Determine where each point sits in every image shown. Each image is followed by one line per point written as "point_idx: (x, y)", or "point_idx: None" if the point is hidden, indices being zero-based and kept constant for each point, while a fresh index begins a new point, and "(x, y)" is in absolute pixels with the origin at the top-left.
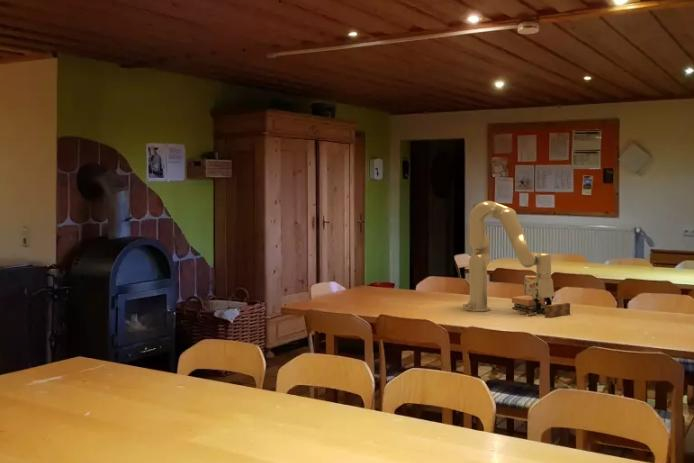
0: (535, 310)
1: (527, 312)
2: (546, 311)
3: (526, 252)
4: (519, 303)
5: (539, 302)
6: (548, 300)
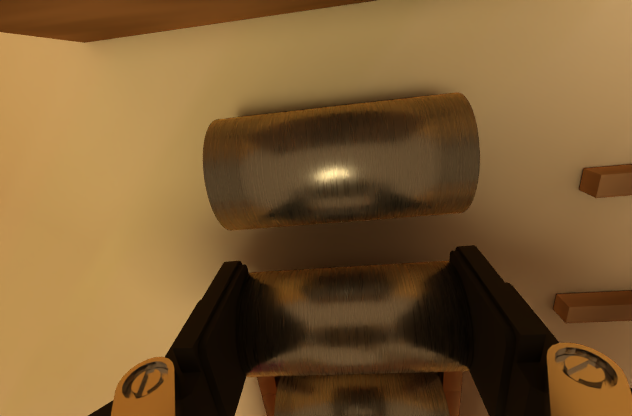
0: None
1: (583, 312)
2: None
3: None
4: None
5: (551, 361)
6: (204, 413)
